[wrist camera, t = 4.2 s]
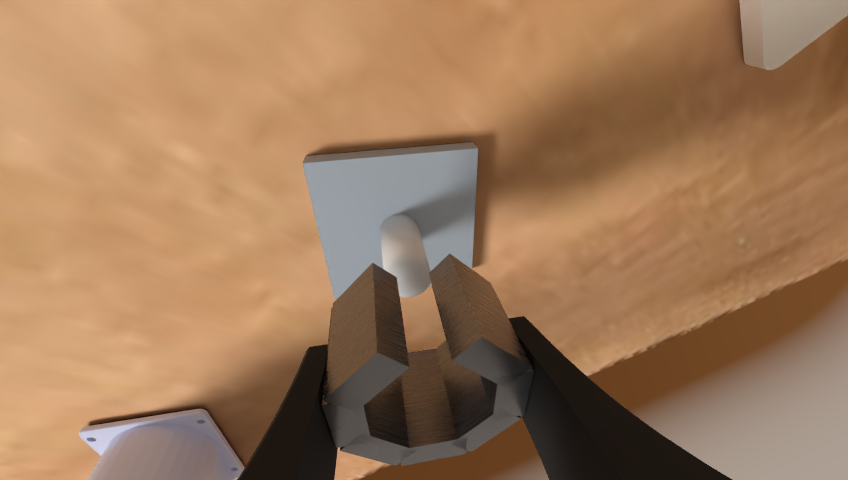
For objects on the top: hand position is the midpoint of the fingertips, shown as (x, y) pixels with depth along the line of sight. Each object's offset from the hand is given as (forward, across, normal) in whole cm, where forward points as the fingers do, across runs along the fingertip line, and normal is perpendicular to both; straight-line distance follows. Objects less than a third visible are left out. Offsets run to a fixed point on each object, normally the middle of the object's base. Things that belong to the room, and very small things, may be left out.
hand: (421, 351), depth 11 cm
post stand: (+9, 0, 0) cm, 9 cm away
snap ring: (+1, 0, 0) cm, 1 cm away
